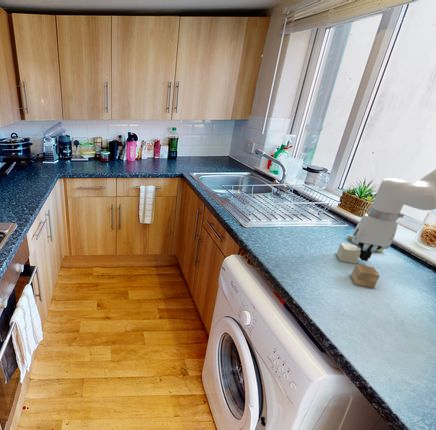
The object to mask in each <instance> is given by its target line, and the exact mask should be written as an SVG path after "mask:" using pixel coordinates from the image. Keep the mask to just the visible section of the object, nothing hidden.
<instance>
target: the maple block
mask: <svg viewBox="0 0 436 430" xmlns="http://www.w3.org/2000/svg"><path fill="white" fill-rule="evenodd" d="M350 277H351V279H352V281H353V283H354V285H357V286H361V287H365V288H369V289H370V288H371V289H374V288H375V287H376V285H377V282H378V281H379V279H380V277H381V276H380V274H379V272H378V271H377V270H376V268H375V267H373V266H368V265H363V264H359V263H356V264H355V265H354V267H353V269H352V272H351V274H350Z"/></svg>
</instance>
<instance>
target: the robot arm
mask: <svg viewBox="0 0 436 430" xmlns="http://www.w3.org/2000/svg"><path fill="white" fill-rule="evenodd" d="M404 206H407V207H410V208H414V209H417V210H420V211H433V210H436V168H435V169H433V170H431V171H430V172H429V173H427V174H426V175H424V176H422V177H421V178H419V179H418V180H416V181H415V182H414V183H413V184H412V183H411V182H410V181H408V180H405V179H400V178H393V177H392V178H391V177H390V178H389V177H388V178H385V179H383V180H381V183H380V185H379V186H378V189H377V192H376V194H375V196H374V199H373V202H372V203H371V206H370V208H369V210H368V213H364V214H363V216H362V217H361V218H360V220H359V221H358V222H357V225H356V227H355V228H354V230H353V233H352V237H353V239H352V240H351V241H350V242H352V243H353V244H355V245H356V246H359V247H360V249H359V250H360V252H361V253H360V255H359V259H360V260H361V261H364V262H368V261H369V259H371V257H372V254H373V253H376V252H377V251H376V250H379V249H384V250H387V249H389V248H390V246H391V245H392V243H393V242H394V239H395V236H396V234H397V230H398V225H399V221H398V219H399V218H404V213H401V211H402V210H403V207H404ZM368 244H370V245H369V247H368Z"/></svg>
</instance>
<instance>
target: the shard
mask: <svg viewBox="0 0 436 430" xmlns="http://www.w3.org/2000/svg"><path fill="white" fill-rule="evenodd" d="M353 237H354V236H349V235H347V237H346V238H347V240H349V241H350V242H352V241H351V240H352V239H353ZM369 245H370V244H368V247H369ZM384 250H385V249H379V250H376V251H375V252H380V253H382V252H383V251H384Z"/></svg>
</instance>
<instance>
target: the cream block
mask: <svg viewBox="0 0 436 430" xmlns="http://www.w3.org/2000/svg"><path fill="white" fill-rule="evenodd" d="M360 250H361V249H360V248H359V247H358V245H356V244H355V245H354V244H348V243H343V242H340V244H339V246H338V249H337V251H336V256H337V258H338V260H339V261H341V262H345V263H350V264H355V265H356V264H357V262H358V260H359V259H360V257H359V255H360V253H361V252H360Z"/></svg>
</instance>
